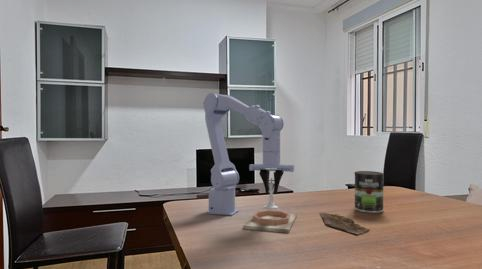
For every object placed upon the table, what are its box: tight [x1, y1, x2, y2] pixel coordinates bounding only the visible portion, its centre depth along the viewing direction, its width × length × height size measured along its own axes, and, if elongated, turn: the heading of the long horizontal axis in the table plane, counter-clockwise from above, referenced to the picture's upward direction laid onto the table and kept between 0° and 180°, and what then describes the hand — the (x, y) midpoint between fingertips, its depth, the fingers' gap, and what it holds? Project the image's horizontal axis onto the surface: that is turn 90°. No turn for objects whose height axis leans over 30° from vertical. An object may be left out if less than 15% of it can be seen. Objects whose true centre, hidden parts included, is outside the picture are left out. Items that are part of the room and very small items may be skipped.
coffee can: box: [353, 170, 385, 214], centre depth 121 cm, size 10×10×14 cm
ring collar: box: [252, 209, 291, 225], centre depth 104 cm, size 12×12×2 cm
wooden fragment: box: [319, 212, 370, 236], centre depth 104 cm, size 26×11×1 cm, turn 8°
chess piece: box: [262, 177, 279, 211], centre depth 104 cm, size 5×5×10 cm
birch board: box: [243, 211, 298, 234], centre depth 104 cm, size 14×18×1 cm
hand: (271, 193), depth 104 cm, fingers closed on chess piece, 2 cm apart
